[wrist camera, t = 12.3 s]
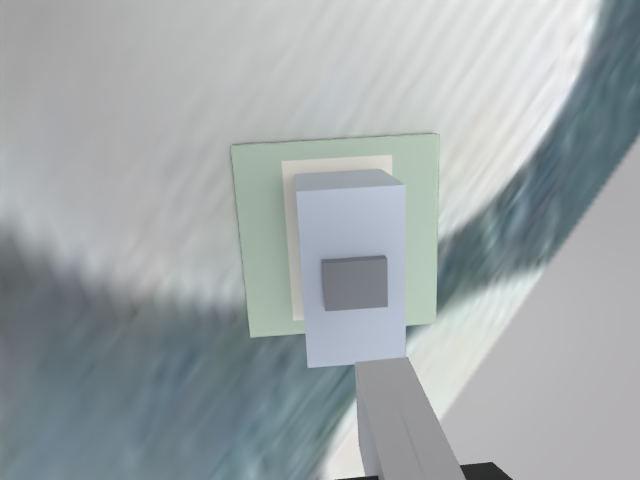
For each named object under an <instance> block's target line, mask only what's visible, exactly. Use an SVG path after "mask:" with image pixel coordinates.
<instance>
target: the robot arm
mask: <svg viewBox="0 0 640 480" xmlns="http://www.w3.org/2000/svg"><path fill="white" fill-rule="evenodd" d="M355 378H356V399H357V419H358V439H359V447H360V452H361V457H362V462H363V467H364V472H365V477H357V478H347V479H337V480H513V479H511V478H510V477H509V476H508V475H507V474H505V473H504V472H503V471H502V470H501V469H500V468H499V467H497V466H496V465H495V464H494V463H493V462H488V463H478V464H469V465H459V464H458V461H457V459H456V457H455V455H454V453H453V451H452V449H451V447H450V445H449V443H448V441H447V438H446V436H445V434H444V432H443V430H442V428H441V426H440V424H439V422H438V419H437V417H436V415H435V413H434V411H433V409H432V407H431V405H430V403H429V401H428V398H427V396H426V394H425V392H424V390H423V388H422V386H421V384H420V382H419V380H418V377H417V375H416V373H415V371H414V369H413V367H412V365H411V363H410V361H409V359H408V357H402V358H391V359H380V360H369V361H358V362H355Z"/></svg>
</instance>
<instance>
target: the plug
mask: <svg viewBox="0 0 640 480" xmlns="http://www.w3.org/2000/svg"><path fill="white" fill-rule="evenodd" d="M295 184H296V199H297V214H298V230H299V245H300V260H301V275H302V290H303V305H304V320H305V335H306V349H307V364H308V368H313V367H325V366H338V365H351V364H355V362H358V361H369V360H380V359H391V358H402V357H406V185H405V184H403V183H402V182H400V181H399V180H397V179H396V178H394V177H392V176H391V175H389V174H388V173H386V172H385V171H383V170H382V169H371V170H354V171H337V172H321V173H304V174H295Z"/></svg>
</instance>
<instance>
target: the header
mask: <svg viewBox="0 0 640 480" xmlns="http://www.w3.org/2000/svg"><path fill="white" fill-rule="evenodd" d="M439 137H440V134H436V133H426V134H409V135H391V136H374V137H356V138H339V139H321V140H304V141H286V142H269V143H252V144H234V145H231V146H230V147H231V156H232V166H233V176H234V185H235V195H236V204H237V214H238V224H239V233H240V243H241V253H242V262H243V272H244V281H245V291H246V301H247V310H248V320H249V330H250V338H252V337H265V336H278V335H291V334H304V333H305V320H304V305H303V290H302V275H301V260H300V245H299V230H298V214H297V199H296V184H295V174H304V173H321V172H337V171H354V170H371V169H382V170H383V171H385V172H386V173H388V174H389V175H391V176H392V177H394V178H396V179H397V180H399V181H400V182H402V183H403V184H405V185H406V326H408V325H421V324H434V323H436V294H437V241H438V189H439Z"/></svg>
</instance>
